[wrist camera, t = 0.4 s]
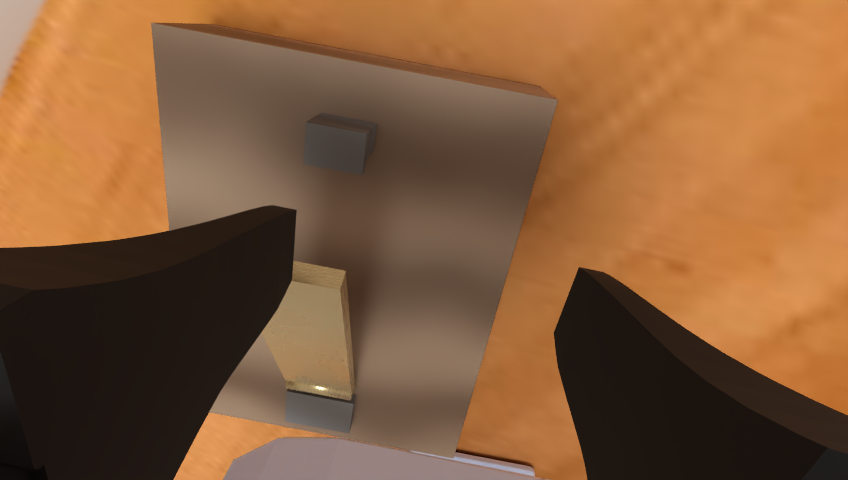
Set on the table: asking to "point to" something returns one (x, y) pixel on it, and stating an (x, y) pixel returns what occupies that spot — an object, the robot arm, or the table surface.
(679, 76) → the table surface
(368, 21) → the table surface
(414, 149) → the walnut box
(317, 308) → the hasp
